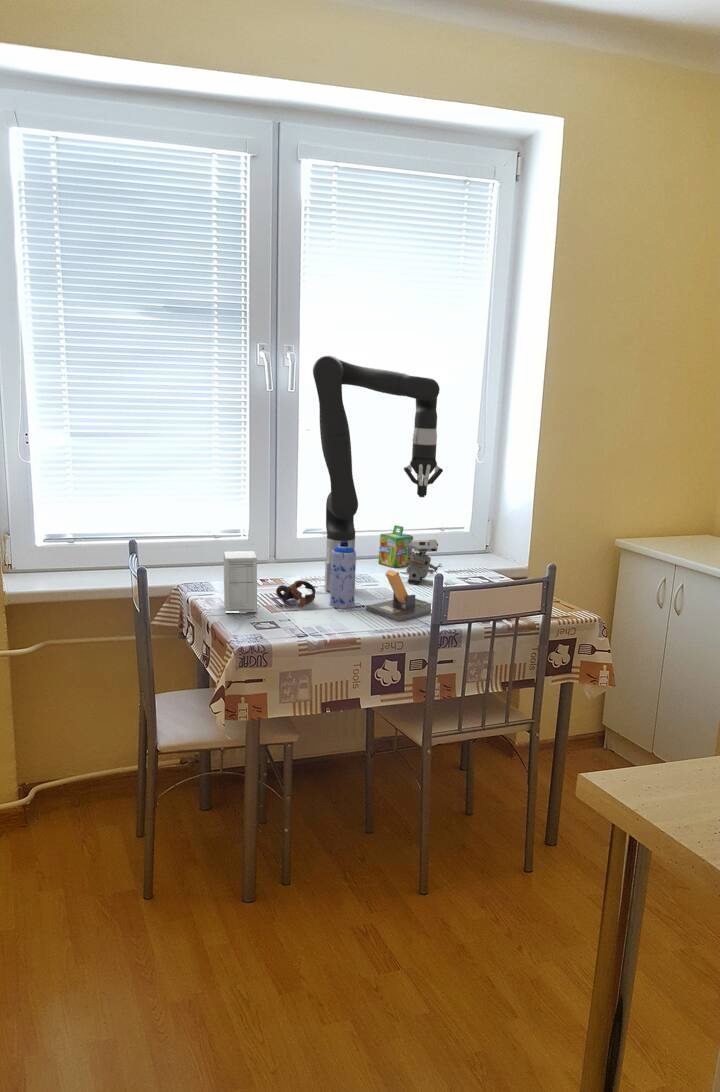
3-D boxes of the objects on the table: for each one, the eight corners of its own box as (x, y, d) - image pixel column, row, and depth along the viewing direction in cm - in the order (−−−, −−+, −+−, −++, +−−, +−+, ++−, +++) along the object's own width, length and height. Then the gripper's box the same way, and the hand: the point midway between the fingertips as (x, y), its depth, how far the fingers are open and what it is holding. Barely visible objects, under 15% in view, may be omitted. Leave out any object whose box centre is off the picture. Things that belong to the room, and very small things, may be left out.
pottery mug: (306, 599, 254) (316, 580, 250) (310, 620, 247) (320, 600, 243) (270, 592, 250) (279, 572, 245) (273, 613, 242) (283, 593, 238)
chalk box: (377, 563, 304) (379, 525, 301) (395, 560, 310) (396, 523, 307) (395, 568, 298) (397, 529, 295) (412, 565, 304) (414, 526, 301)
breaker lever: (403, 599, 246) (389, 569, 239) (411, 602, 243) (398, 571, 236) (398, 603, 245) (384, 573, 238) (407, 606, 242) (393, 576, 236)
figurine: (436, 586, 274) (438, 543, 271) (403, 583, 277) (405, 540, 274) (440, 580, 282) (443, 538, 279) (408, 577, 285) (410, 535, 282)
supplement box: (255, 604, 245) (255, 550, 241) (257, 613, 236) (258, 557, 232) (223, 605, 243) (223, 550, 239) (224, 614, 234) (224, 557, 230)
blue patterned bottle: (357, 602, 251) (360, 539, 247) (351, 609, 244) (353, 544, 239) (333, 600, 253) (335, 537, 249) (326, 606, 245) (328, 542, 241)
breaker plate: (408, 601, 255) (409, 584, 254) (440, 611, 245) (442, 594, 244) (366, 610, 243) (366, 592, 242) (398, 621, 233) (399, 603, 232)
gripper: (406, 443, 250) (403, 498, 253) (447, 444, 251) (444, 499, 255) (401, 441, 257) (399, 494, 260) (442, 442, 259) (439, 495, 262)
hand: (421, 496), depth 258 cm, fingers closed
